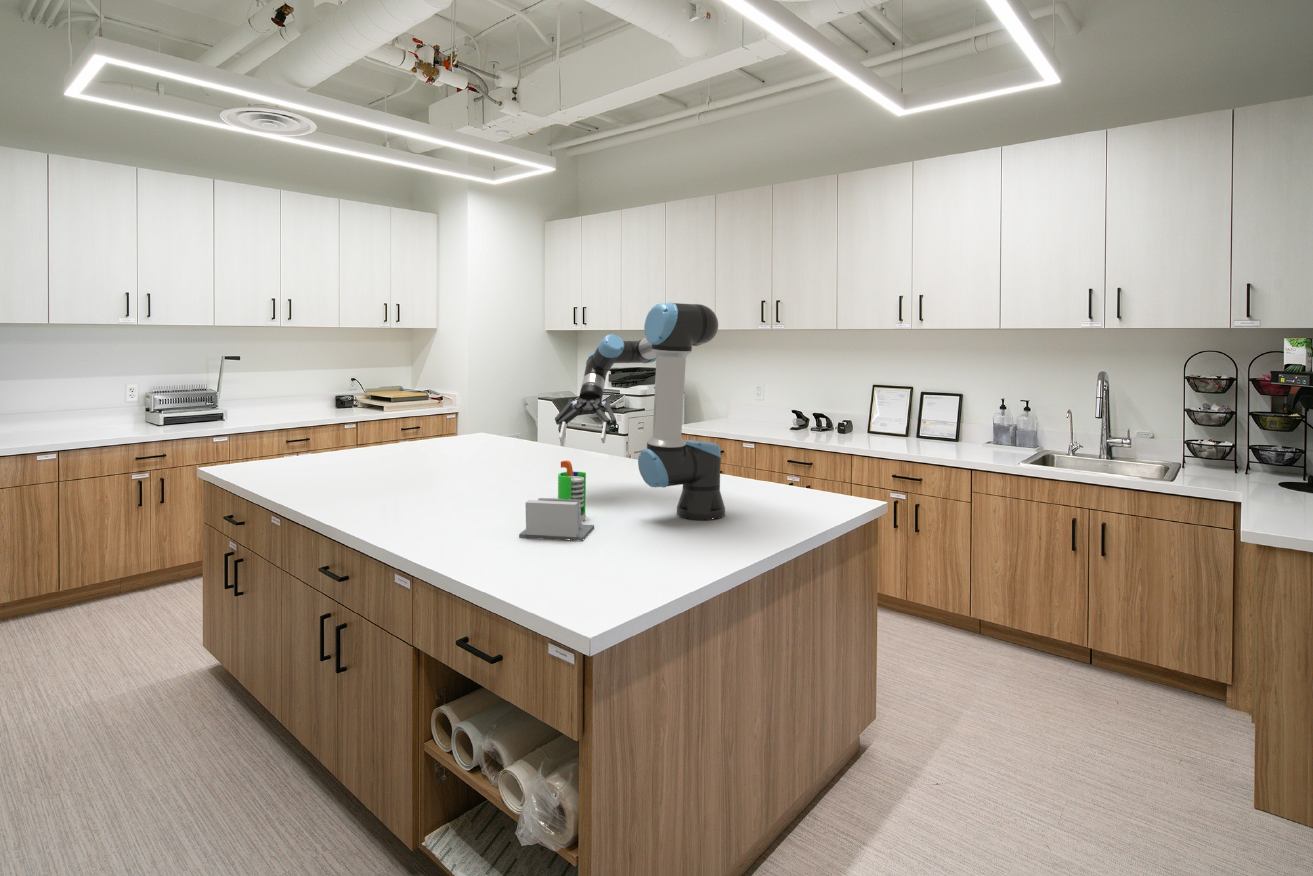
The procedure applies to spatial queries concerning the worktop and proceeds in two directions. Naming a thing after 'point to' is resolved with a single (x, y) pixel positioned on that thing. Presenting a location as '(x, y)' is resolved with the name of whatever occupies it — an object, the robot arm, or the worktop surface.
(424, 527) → the worktop surface
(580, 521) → the gauge plunger
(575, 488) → the green-shelled ribbed roller
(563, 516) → the frame
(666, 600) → the worktop surface
